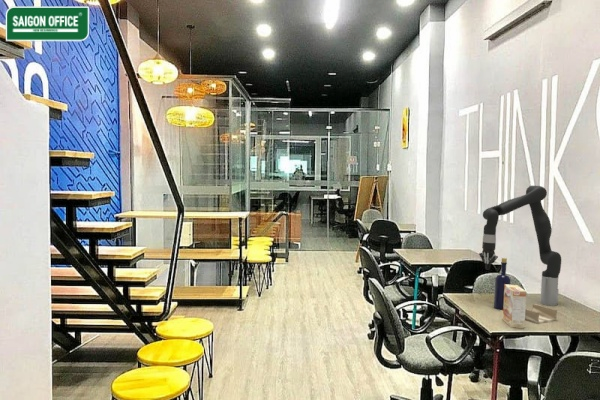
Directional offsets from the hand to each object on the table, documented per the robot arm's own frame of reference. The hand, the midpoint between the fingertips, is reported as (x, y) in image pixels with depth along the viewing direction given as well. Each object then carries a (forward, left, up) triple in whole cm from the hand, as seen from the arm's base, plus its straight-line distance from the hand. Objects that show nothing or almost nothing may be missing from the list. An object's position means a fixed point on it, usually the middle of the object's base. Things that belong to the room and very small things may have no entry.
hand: (487, 269), depth 308 cm
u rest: (0, +35, -21) cm, 41 cm away
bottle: (0, +12, -21) cm, 24 cm away
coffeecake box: (+20, +37, -21) cm, 47 cm away
